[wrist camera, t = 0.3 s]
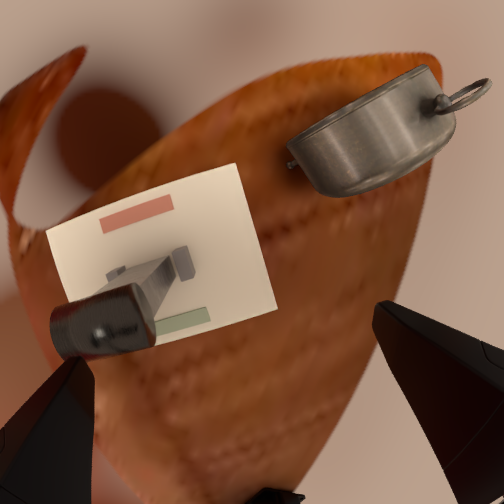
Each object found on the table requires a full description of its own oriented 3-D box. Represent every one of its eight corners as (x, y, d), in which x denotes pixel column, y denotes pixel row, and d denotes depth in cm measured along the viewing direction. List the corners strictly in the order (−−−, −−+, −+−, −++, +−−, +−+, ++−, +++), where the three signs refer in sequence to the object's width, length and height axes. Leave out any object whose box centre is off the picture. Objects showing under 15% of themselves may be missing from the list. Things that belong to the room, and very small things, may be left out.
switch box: (267, 293, 24) (283, 318, 18) (110, 339, 23) (86, 371, 17) (231, 170, 22) (237, 157, 17) (69, 227, 21) (32, 232, 16)
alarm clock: (362, 96, 23) (493, 15, 7) (395, 146, 24) (544, 109, 8) (265, 156, 23) (362, 65, 7) (304, 213, 24) (453, 223, 8)
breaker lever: (181, 281, 19) (149, 358, 8) (135, 295, 18) (69, 375, 8) (170, 247, 18) (121, 291, 8) (124, 262, 18) (41, 317, 8)
